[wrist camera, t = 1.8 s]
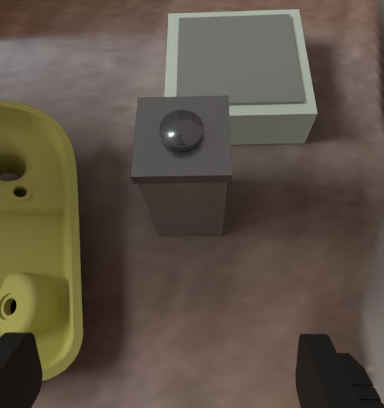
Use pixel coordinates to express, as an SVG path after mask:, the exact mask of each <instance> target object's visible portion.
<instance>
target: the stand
mask: <svg viewBox="0 0 384 408" xmlns="http://www.w3.org/2000/svg"><path fill="white" fill-rule="evenodd" d="M222 95H229V115H230V136H231V145H249V144H301V143H305V142H306V139H307V137H308V135H309V132H310V130H311V128H312V126H313V123H314V121H315V119H316V116H317V114H318V113H317V108H316V102H315V97H314V91H313V85H312V80H311V74H310V69H309V63H308V58H307V52H306V46H305V41H304V35H303V30H302V24H301V19H300V13H299V9H293V10H264V11H236V12H207V13H179V14H169V17H168V37H167V57H166V77H165V96H164V97H183V96H222Z"/></svg>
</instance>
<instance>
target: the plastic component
mask: <svg viewBox="0 0 384 408" xmlns="http://www.w3.org/2000/svg"><path fill="white" fill-rule="evenodd" d="M5 173H14V174H16V175H19V176H20V177H21V178H19V179H17V180H14V181H3V180H0V337H1V336H2V335H3V334H4V333H7V332H30V333H33V335H34V336H35V340H36V344H37V349H38V353H39V358H40V362H41V367H42V373H43V378H42V381H45V380H48V379H50V378H53V377H55V376H57V375H58V374H60V373H61V372H63V371H64V370H66V369H67V367H68V366H69V365H70V364H71V363H72V362H73V361H74V359H75V358H76V356H77V354H78V353H79V350H80V347H81V344H82V339H83V317H82V290H81V262H80V234H79V207H78V184H77V169H76V161H75V156H74V151H73V147H72V144H71V142H70V139H69V137H68V135H67V134H66V132H65V131H64V129H63V128H62V127H61V126H60V125H59V124H58V123H57V122H56V121H55V120H54V119H53V118H52V117H50V116H49V115H47V114H46V113H44V112H43V111H41V110H39V109H37V108H34V107H32V106H29V105H26V104H22V103H17V102H12V101H5V100H0V175H1V174H5ZM25 194H26V195H25ZM24 195H25V196H24ZM22 196H24V197H22ZM14 300H15V301H16V304H17V306H16V310H15V312H14V313H13V314H12V313H11V310H10V307H11V303H12V302H13V301H14Z"/></svg>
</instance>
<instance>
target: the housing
mask: <svg viewBox="0 0 384 408" xmlns="http://www.w3.org/2000/svg"><path fill="white" fill-rule="evenodd" d="M131 179H132V181H133V184H139V186H140V189H141V191H142V194H143V197H144V199H145V202H146V204H147V207H148V210H149V212H150V215H151V217H152V220H153V223H154V225H155V228H156V230H157V233H158V236H222V231H223V221H224V211H225V201H226V191H227V182H232V157H231V136H230V115H229V95H222V96H183V97H144V98H138V101H137V112H136V123H135V134H134V145H133V156H132V167H131Z"/></svg>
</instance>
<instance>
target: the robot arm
mask: <svg viewBox="0 0 384 408" xmlns="http://www.w3.org/2000/svg"><path fill="white" fill-rule="evenodd" d="M42 378H43V373H42V367H41V362H40V358H39V353H38V349H37V344H36V340H35V336H34V335H33V333H30V332H7V333H4V334H3V335H2V336H1V337H0V408H31V407H32V405H33V403H34V402H35V400H36V398H37V396H38V394H39V391H40V388H41V385H42ZM296 389H297V395H298V399H299V402H300V406H301V408H384V405H383V403H381V400H380V397H379V395H378V393H377V392H376V390H375V388H373V384H372V382H371V380H370V379H369V377H368V375H367V373H366V371H365V369H364V368H363V367H362V366H361V365H360V364H359V363H358V362H357V361H356V360H355V359H354V358H353V357H352V356H351V355H350V354H349V353H337V352H336V350H335V348H334V346H333V344H332V342H331V340H330V338H329V336H328V335H327V334H301V335H300V337H299V344H298V355H297V365H296Z"/></svg>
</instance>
